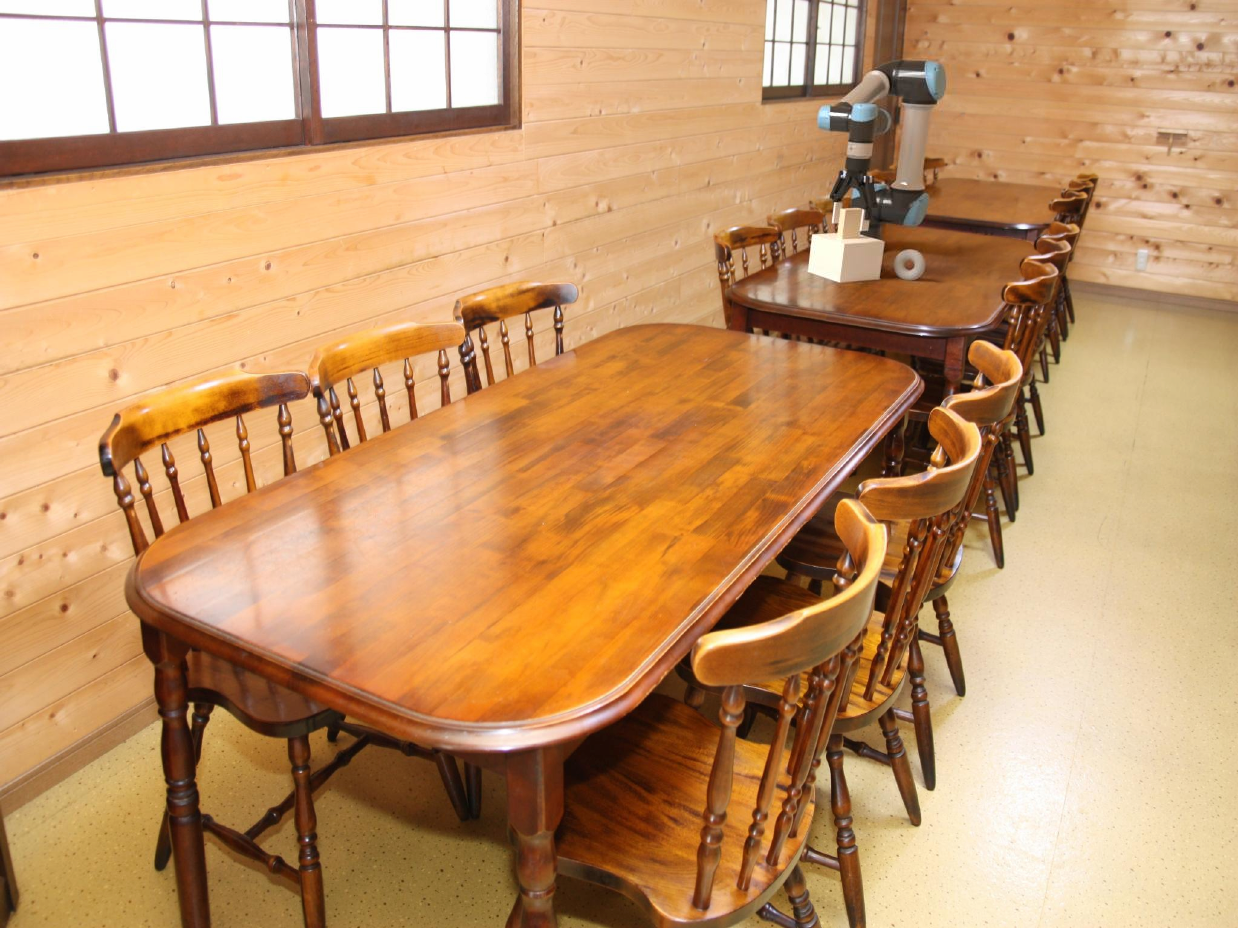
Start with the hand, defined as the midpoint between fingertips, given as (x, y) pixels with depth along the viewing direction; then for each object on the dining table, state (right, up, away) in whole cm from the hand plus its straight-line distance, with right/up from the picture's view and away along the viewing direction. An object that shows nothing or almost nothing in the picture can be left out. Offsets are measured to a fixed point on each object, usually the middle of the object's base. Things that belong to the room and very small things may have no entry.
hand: (849, 226), depth 324 cm
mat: (-1, -14, +6) cm, 16 cm away
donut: (+19, -16, +5) cm, 26 cm away
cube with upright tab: (-1, -14, +6) cm, 15 cm away
